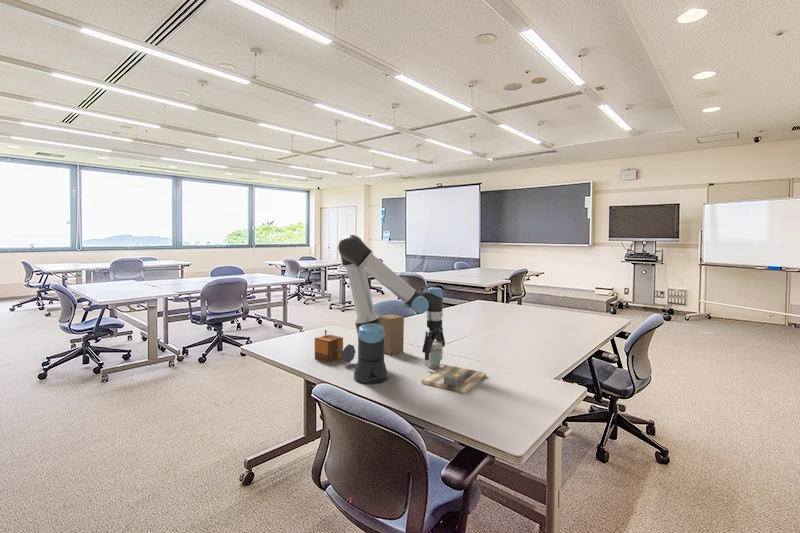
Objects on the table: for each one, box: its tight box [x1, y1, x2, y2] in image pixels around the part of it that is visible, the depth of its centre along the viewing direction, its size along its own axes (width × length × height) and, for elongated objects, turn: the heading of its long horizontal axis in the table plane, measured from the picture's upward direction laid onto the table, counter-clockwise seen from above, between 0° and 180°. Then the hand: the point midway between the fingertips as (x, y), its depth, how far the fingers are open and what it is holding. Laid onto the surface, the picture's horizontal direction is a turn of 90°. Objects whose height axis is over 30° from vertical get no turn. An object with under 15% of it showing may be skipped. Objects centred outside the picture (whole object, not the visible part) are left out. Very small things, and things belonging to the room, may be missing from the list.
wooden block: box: [378, 313, 405, 356], centre depth 215 cm, size 10×10×20 cm
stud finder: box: [444, 372, 465, 387], centre depth 165 cm, size 6×8×3 cm
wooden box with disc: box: [314, 329, 356, 364], centre depth 199 cm, size 11×20×14 cm, turn 51°
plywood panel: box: [421, 364, 487, 394], centre depth 173 cm, size 20×25×2 cm
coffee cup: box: [427, 340, 444, 370], centre depth 190 cm, size 8×9×12 cm
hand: (433, 362), depth 190 cm, fingers open, 12 cm apart
